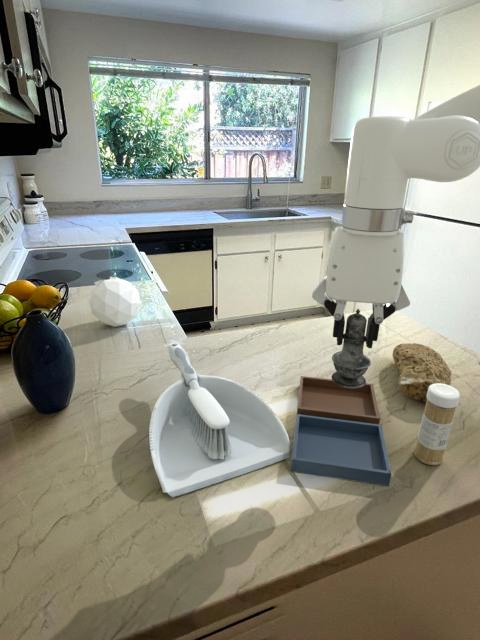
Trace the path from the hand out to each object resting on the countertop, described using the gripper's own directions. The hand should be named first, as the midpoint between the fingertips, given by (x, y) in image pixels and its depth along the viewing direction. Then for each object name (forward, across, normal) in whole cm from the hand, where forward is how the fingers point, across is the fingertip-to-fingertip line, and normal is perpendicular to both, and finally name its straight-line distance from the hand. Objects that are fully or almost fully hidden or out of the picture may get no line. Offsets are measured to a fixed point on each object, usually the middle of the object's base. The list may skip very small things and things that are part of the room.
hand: (353, 341), depth 61 cm
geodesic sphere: (+21, +62, -43) cm, 78 cm away
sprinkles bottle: (+21, -15, -2) cm, 26 cm away
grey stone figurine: (+7, 0, 0) cm, 7 cm away
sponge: (+21, -18, -28) cm, 39 cm away
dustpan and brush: (+21, +26, -4) cm, 34 cm away
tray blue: (+21, 0, 0) cm, 21 cm away
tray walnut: (+21, 0, -14) cm, 25 cm away
